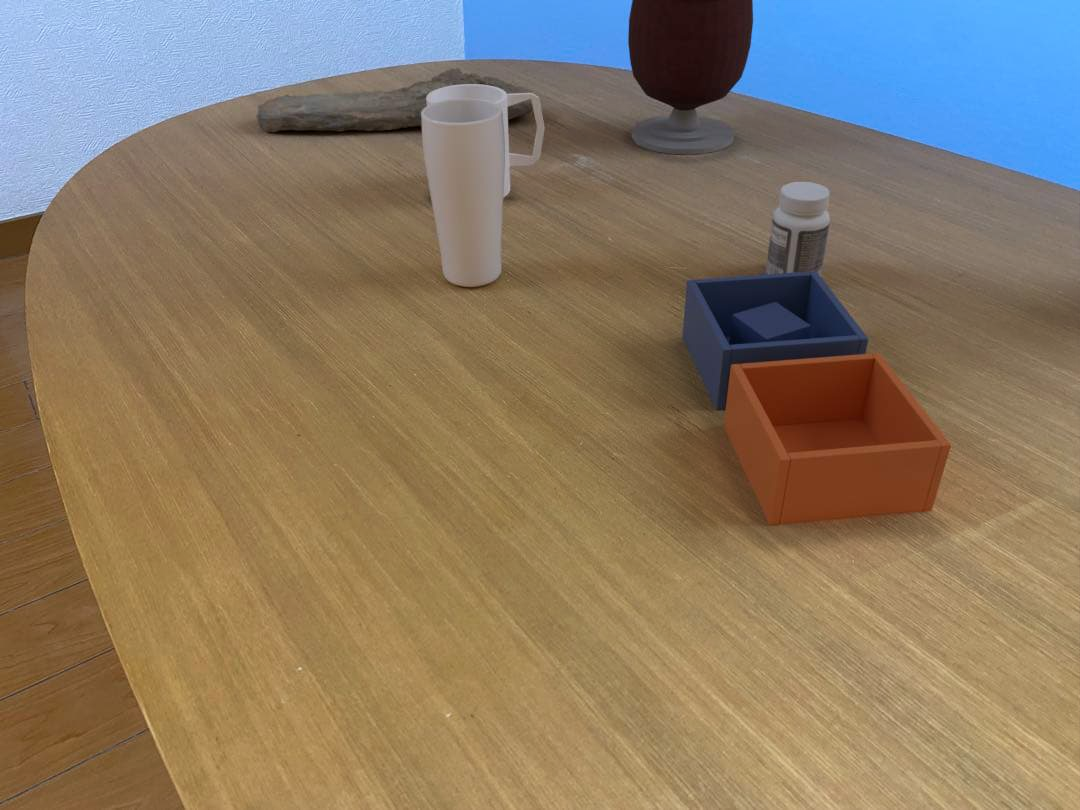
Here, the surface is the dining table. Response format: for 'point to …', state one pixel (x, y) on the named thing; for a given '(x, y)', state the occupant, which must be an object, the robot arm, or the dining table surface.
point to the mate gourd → (687, 68)
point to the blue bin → (729, 295)
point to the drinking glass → (466, 186)
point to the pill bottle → (799, 229)
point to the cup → (503, 101)
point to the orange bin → (833, 439)
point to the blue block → (767, 325)
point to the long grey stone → (371, 106)
